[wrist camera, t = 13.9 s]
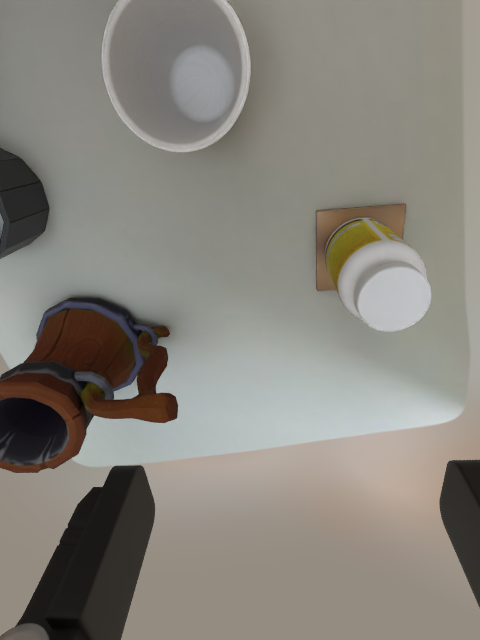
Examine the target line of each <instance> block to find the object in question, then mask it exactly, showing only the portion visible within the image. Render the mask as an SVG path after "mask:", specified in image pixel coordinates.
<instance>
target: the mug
mask: <svg viewBox="0 0 480 640" xmlns="http://www.w3.org/2000/svg"><path fill="white" fill-rule="evenodd" d="M142 330H143V331H142ZM169 335H170V332H169V330H168V329H167V328H166V327H164V326H163V327H148V326H147V325H141V324H137V323H136V321H135V320H134V319H133V317H132V316H131V315H130V313H129V312H128V311H127V310H126V309H123V308H121V307H118V306H116V305H114V304H111V303H109V302H106V301H104V300H101V299H89V298H69V299H67V300H65V301H64V302H62V303H60V304H58V305H56V306H54V307H52V308H50V309H48V310H47V311H46V312H45V313H44V315H43V318H42V320H41V323H40V326H39V329H38V332H37V335H36V336H37V343H36V345H35V348H34V351H33V352H32V353H31V354H30V356H29V357H28V358H27V359H26V361H25V362H24V363H22V364H20V365H18V366H16V367H14V368H13V369H11V370H9V371H7V372H6V373H4V374H2V375H1V377H0V468H2V469H6V470H9V471H12V472H15V473H31V472H32V473H35V472H36V473H38V472H39V471H40V470H43V469H46V468H52V469H54V468H56V467H58V466H59V465H61V464H63V463H64V462H66V461H68V460H69V459H71V458H72V457H74V456H76V455H77V454H78V453H79V451H80V449H81V446H82V444H83V441H84V439H85V436H86V429H87V427H88V425H89V423H90V422H91V420H92V418H93V416H94V415H95V416H98V417H102V418H110V419H123V418H135V419H140V420H144V421H149V422H157V423H166V422H168V421H171V420H174V419H176V418H177V412H178V404H177V400H176V397H175V396H173V395H172V394H170V393H156V384H157V381H158V379H159V378H160V376H161V374H162V373H163V371H164V370H165V368H166V367H167V362H168V354H167V349H166V348H164V347H162V346H156V345H157V343H158V338H159V337H168V336H169ZM150 343H151V344H150ZM138 372H139V373H138ZM137 374H138V377H137V385H138V392H139V394H138V395H137V396H136V397H134V398H132V399H125V400H113V399H114V393H113V392H114V391H116V390H119V389H121V388H123V387H125V386H128V385H130V384H131V383H132V382H133V381H134V379H135V377H136V376H137Z"/></svg>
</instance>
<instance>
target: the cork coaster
mask: <svg viewBox="0 0 480 640" xmlns="http://www.w3.org/2000/svg"><path fill="white" fill-rule="evenodd" d="M405 212H406V204H395V205H382V206H369V207H356V208H343V209H330V210H317V211H316V289H317V291H321V290H336V288H335V285H334V283H333V281H332V278H331V276H330V274H329V271H328V269H327V266H326V262H325V248H326V244H327V242H328V240H329V238H330V236H331V235H332V233H333V232H334V231H335V230H336V229H337V228H338V227H339V226H340V225H342V224H343V223H345V222H347V221H349V220H352V219H356V218H372V219H375V220H378V221H380V222H381V223H383V224H384V225H386V226H387V227H388V228H390V229H391V230H392V231H393V232H394V233H396V234H397V235H398V236H399V237H400V238H401V239H403V231H404V222H405Z"/></svg>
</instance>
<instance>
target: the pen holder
mask: <svg viewBox="0 0 480 640" xmlns="http://www.w3.org/2000/svg"><path fill="white" fill-rule="evenodd" d="M48 212H49V205H48V202H47V199H46V196H45V193H44V189H43V186H42V183H41V182H40V180H39V179H38V177H37V176H36V175H35V174H34V173H33V172H32V171H31V169H30V168H29V167H28V166H27V165H26V164H25V162H24V161H23V160H22V159H20V158H19V157H17V156H15V155H13V154H11V153H9V152H7V151H4V150H2V149H0V213H1V215H2V218H3V221H4V224H3V231H2V237H1V239H0V259H1V258H3V257H5V256H7V255H9V254H11V253H13V252H15V251H17V250H19V249H21V248H23V247H25V246H27V245H29V244H30V243H31V242H33V241H34V240H35V239H36V238H37V237H38V236H40V235H41V234H42V233H43V232H44V231H45V227H46V222H47V217H48Z"/></svg>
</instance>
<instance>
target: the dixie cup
mask: <svg viewBox="0 0 480 640" xmlns="http://www.w3.org/2000/svg"><path fill="white" fill-rule="evenodd" d="M101 60H102V71H103V77H104V82H105V86H106V89H107V92H108V95H109V97H110V100H111V102H112V104H113V106H114V108H115V110H116V111H117V113H118V115H119V116H120V118H121V119H122V120H123V122H124V123H125V124H126V125H127V126H128V128H129V129H130V130H131V131H132V132H133V133H135V134H136V135H137V136H138V137H139V138H141V139H142V140H144V141H145V142H147V143H148V144H150V145H152V146H154V147H157V148H159V149H162V150H166V151H170V152H180V153H183V152H193V151H197V150H200V149H203V148H206V147H208V146H210V145H212V144H213V143H215V142H216V141H218V140H219V139H220V138H222V137H223V136H224V135H225V134H226V133H227V132H228V131H229V130H230V129H231V127H232V126H233V125H234V123H235V122H236V120H237V119H238V117H239V115H240V113H241V111H242V109H243V107H244V104H245V102H246V98H247V95H248V91H249V85H250V76H251V61H250V52H249V47H248V42H247V39H246V35H245V32H244V29H243V27H242V25H241V22H240V20H239V18H238V16H237V15H236V13H235V11H234V10H233V8H232V7H231V5H230V4H229V3H228V2H227V0H118V2H117V3H116V5H115V6H114V8H113V10H112V12H111V14H110V16H109V18H108V21H107V24H106V27H105V31H104V35H103V41H102V52H101Z"/></svg>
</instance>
